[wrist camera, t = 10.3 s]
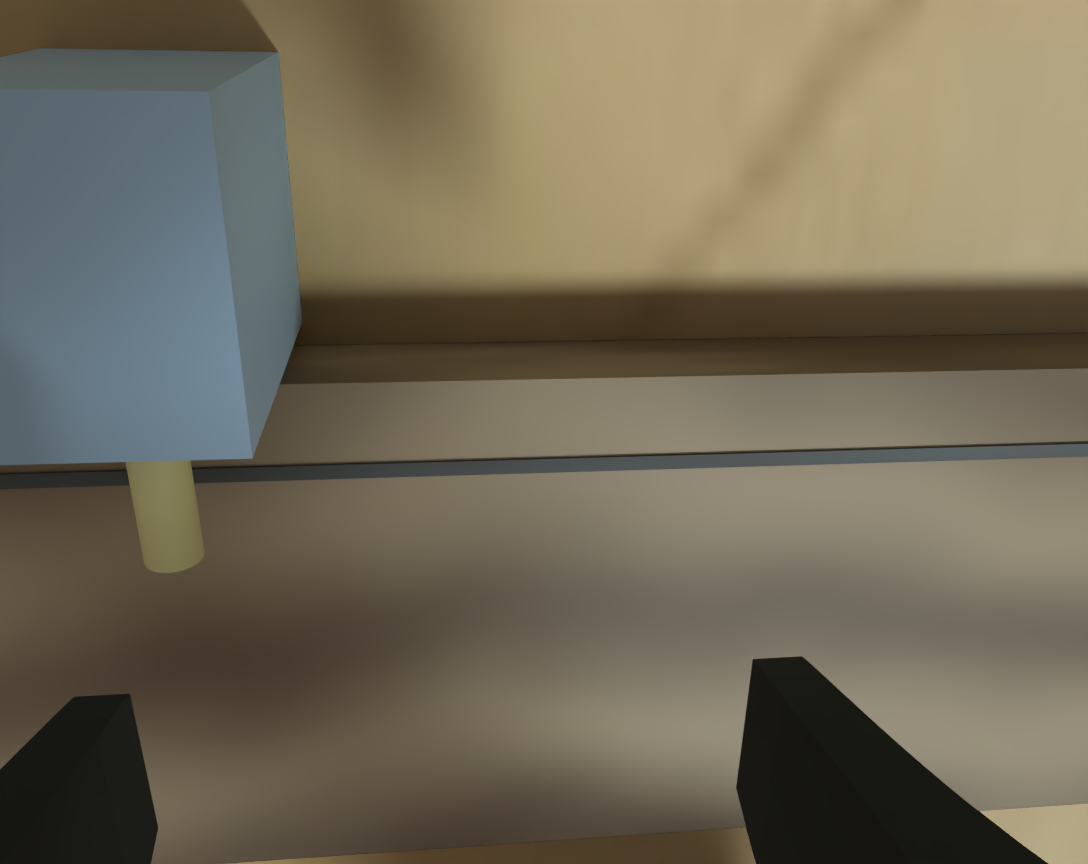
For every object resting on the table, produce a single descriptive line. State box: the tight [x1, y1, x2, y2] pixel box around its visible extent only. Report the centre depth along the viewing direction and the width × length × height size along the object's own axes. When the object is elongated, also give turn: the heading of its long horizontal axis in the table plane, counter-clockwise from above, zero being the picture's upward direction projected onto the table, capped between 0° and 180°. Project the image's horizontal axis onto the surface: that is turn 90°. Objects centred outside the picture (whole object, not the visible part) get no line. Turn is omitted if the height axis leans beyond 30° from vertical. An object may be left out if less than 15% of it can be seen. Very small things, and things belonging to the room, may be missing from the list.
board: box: [0, 333, 1088, 864], centre depth 22 cm, size 12×30×2 cm, turn 89°
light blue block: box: [0, 48, 302, 573], centre depth 16 cm, size 8×4×6 cm, turn 179°
